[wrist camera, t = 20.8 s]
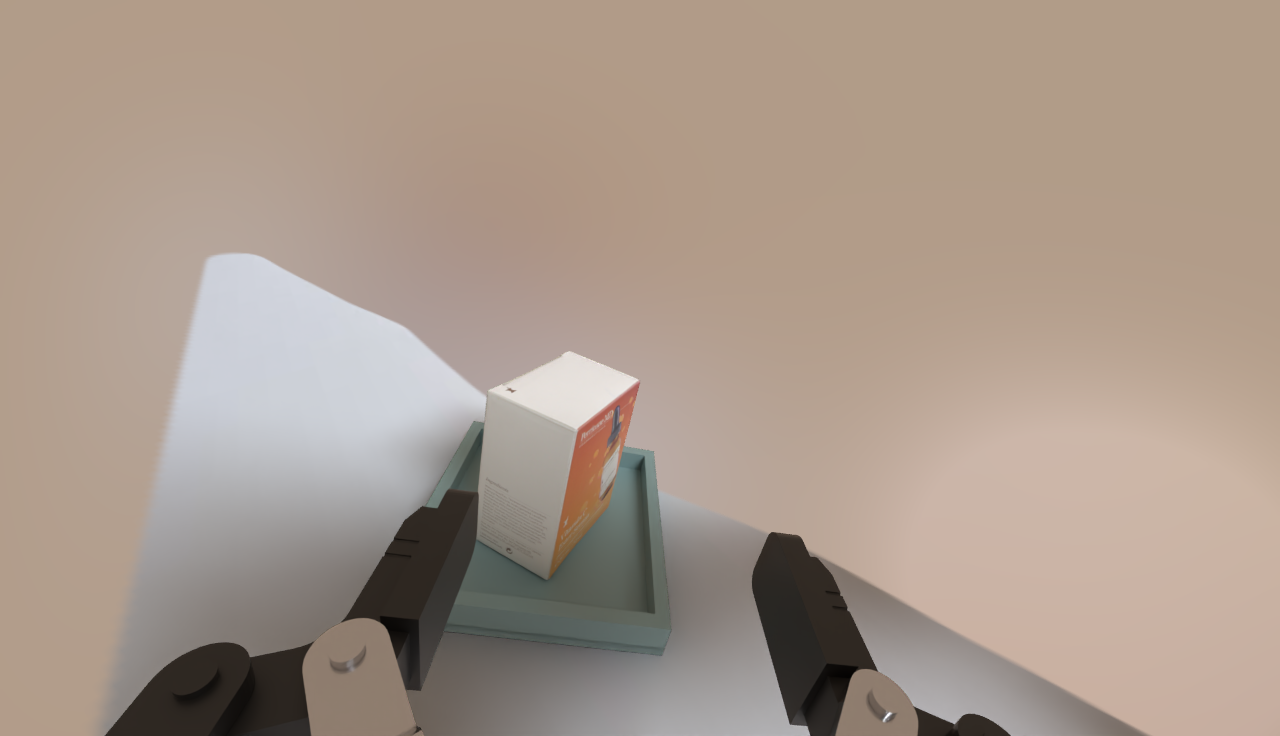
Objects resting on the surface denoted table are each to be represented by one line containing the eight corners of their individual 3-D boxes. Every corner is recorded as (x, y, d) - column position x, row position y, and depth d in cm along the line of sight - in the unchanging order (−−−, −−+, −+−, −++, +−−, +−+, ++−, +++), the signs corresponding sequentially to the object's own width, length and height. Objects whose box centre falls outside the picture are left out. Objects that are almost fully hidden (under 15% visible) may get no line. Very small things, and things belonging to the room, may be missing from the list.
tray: (648, 471, 38) (653, 451, 37) (661, 655, 24) (671, 629, 23) (471, 442, 37) (473, 421, 36) (376, 623, 22) (375, 594, 22)
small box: (546, 585, 26) (576, 431, 21) (470, 539, 27) (483, 388, 23) (611, 506, 33) (643, 378, 28) (547, 473, 34) (568, 347, 30)
